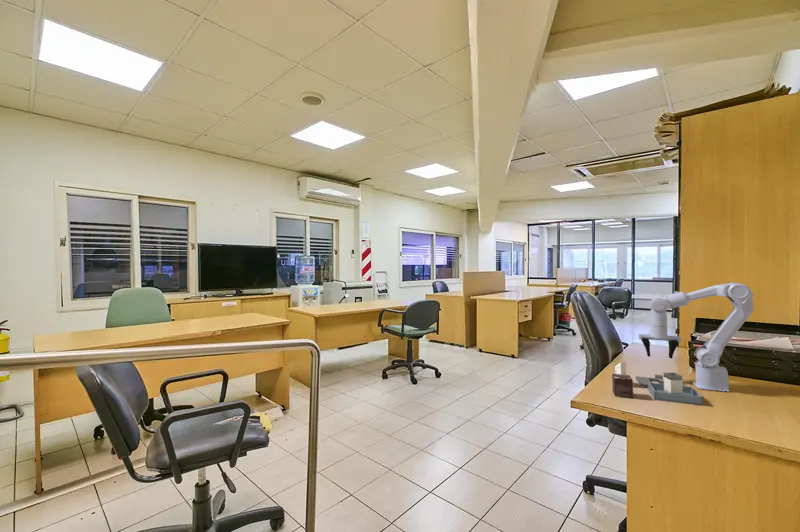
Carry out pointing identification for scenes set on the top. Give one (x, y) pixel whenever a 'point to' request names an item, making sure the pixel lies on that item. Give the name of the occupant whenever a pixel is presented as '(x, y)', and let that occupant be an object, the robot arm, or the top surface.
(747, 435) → the top surface
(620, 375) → the box
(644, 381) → the frame
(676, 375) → the tan rectangular block
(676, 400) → the tray
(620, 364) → the white wedge bracket
